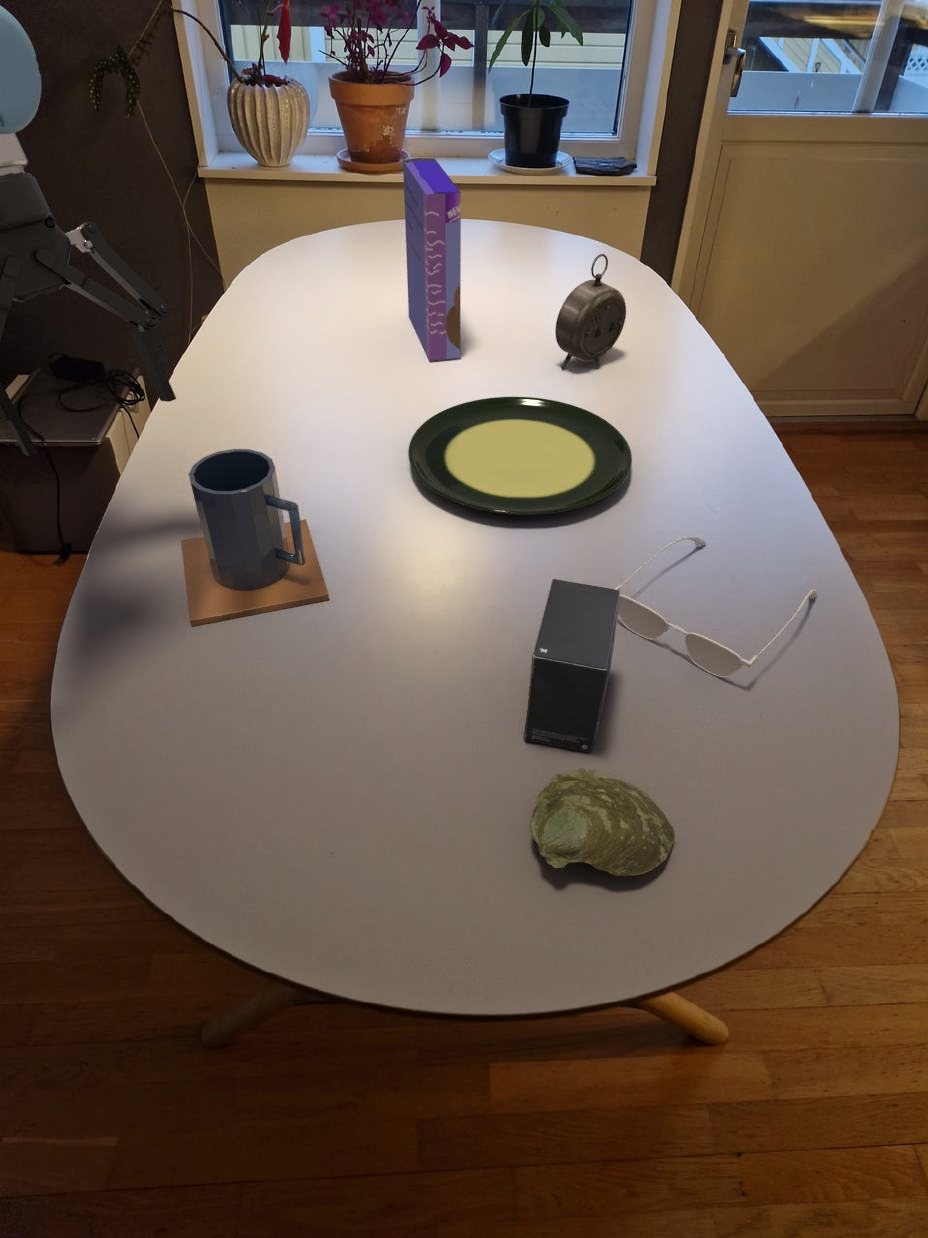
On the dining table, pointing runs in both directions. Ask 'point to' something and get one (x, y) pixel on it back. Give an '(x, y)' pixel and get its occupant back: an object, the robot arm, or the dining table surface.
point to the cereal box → (433, 257)
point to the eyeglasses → (698, 646)
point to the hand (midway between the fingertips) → (102, 426)
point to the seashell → (600, 824)
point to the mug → (245, 519)
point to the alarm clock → (590, 319)
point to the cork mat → (225, 603)
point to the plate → (519, 455)
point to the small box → (571, 665)
